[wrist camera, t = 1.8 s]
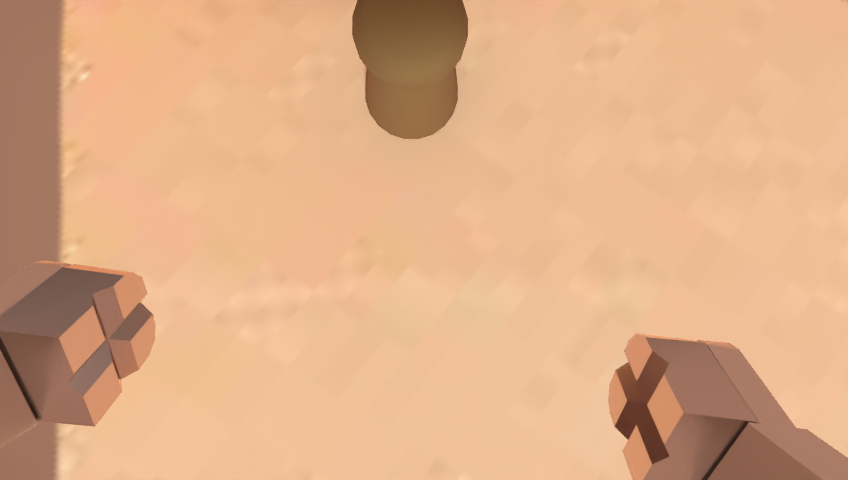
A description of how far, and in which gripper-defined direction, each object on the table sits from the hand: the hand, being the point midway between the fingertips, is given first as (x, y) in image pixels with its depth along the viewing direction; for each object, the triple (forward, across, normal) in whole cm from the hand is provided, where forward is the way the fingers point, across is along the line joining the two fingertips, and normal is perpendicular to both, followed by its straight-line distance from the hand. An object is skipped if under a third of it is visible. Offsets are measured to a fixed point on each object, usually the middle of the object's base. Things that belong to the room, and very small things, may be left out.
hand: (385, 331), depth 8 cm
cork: (+25, +1, +2) cm, 25 cm away
